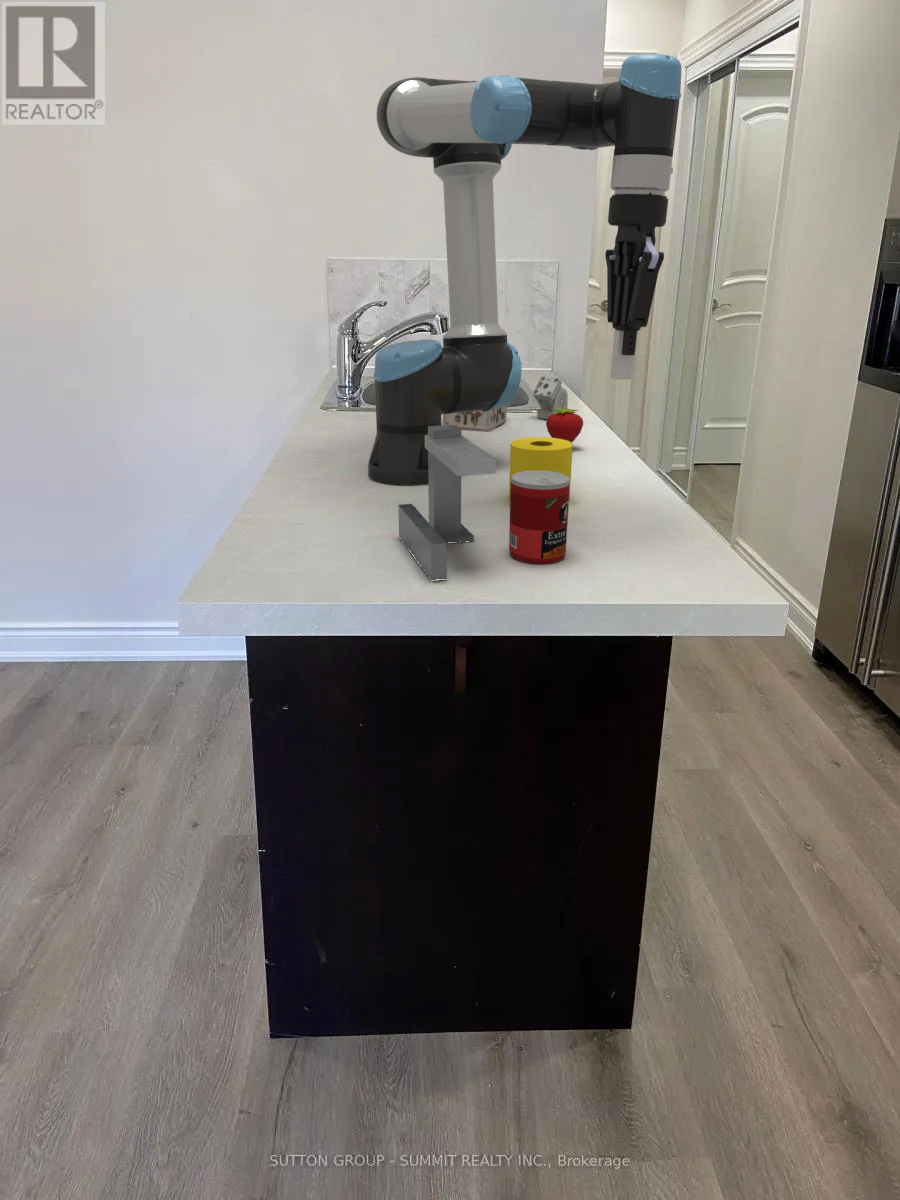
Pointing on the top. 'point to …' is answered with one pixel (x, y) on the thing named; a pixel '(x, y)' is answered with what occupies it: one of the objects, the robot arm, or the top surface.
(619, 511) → the top surface
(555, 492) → the canned food
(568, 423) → the strawberry
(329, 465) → the top surface
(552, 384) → the mechanical component
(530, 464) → the yellow toilet paper roll
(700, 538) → the top surface
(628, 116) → the robot arm
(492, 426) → the white patterned box
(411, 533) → the bracket
